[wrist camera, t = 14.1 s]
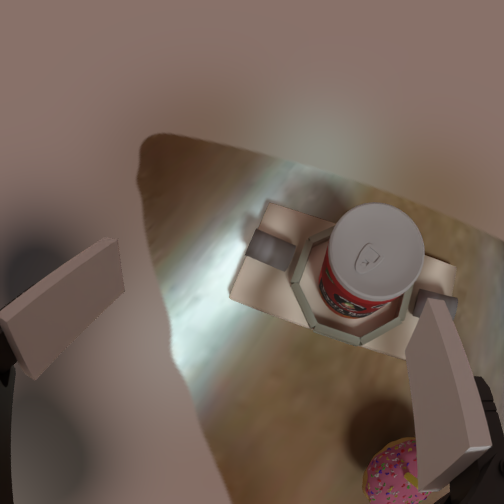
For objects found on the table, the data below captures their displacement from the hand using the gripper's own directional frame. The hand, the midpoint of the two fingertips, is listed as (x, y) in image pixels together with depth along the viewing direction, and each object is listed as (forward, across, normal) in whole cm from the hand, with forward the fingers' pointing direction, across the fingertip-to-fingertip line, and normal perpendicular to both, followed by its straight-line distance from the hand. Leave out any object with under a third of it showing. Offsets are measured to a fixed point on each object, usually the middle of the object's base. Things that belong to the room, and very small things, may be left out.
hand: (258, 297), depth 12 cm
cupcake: (+7, +16, -24) cm, 30 cm away
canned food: (+20, +6, -10) cm, 23 cm away
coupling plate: (+20, +6, -10) cm, 24 cm away
